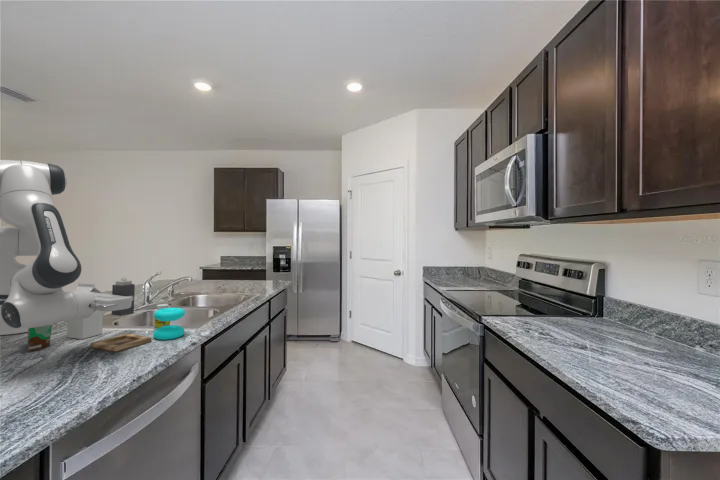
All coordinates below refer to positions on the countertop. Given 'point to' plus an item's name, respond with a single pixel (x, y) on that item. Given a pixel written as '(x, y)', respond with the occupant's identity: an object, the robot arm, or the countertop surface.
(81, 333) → the milk carton
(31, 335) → the food container
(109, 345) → the wooden tray
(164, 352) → the countertop surface
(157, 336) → the donuts
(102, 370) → the countertop surface
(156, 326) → the supplement bottle
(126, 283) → the plug
